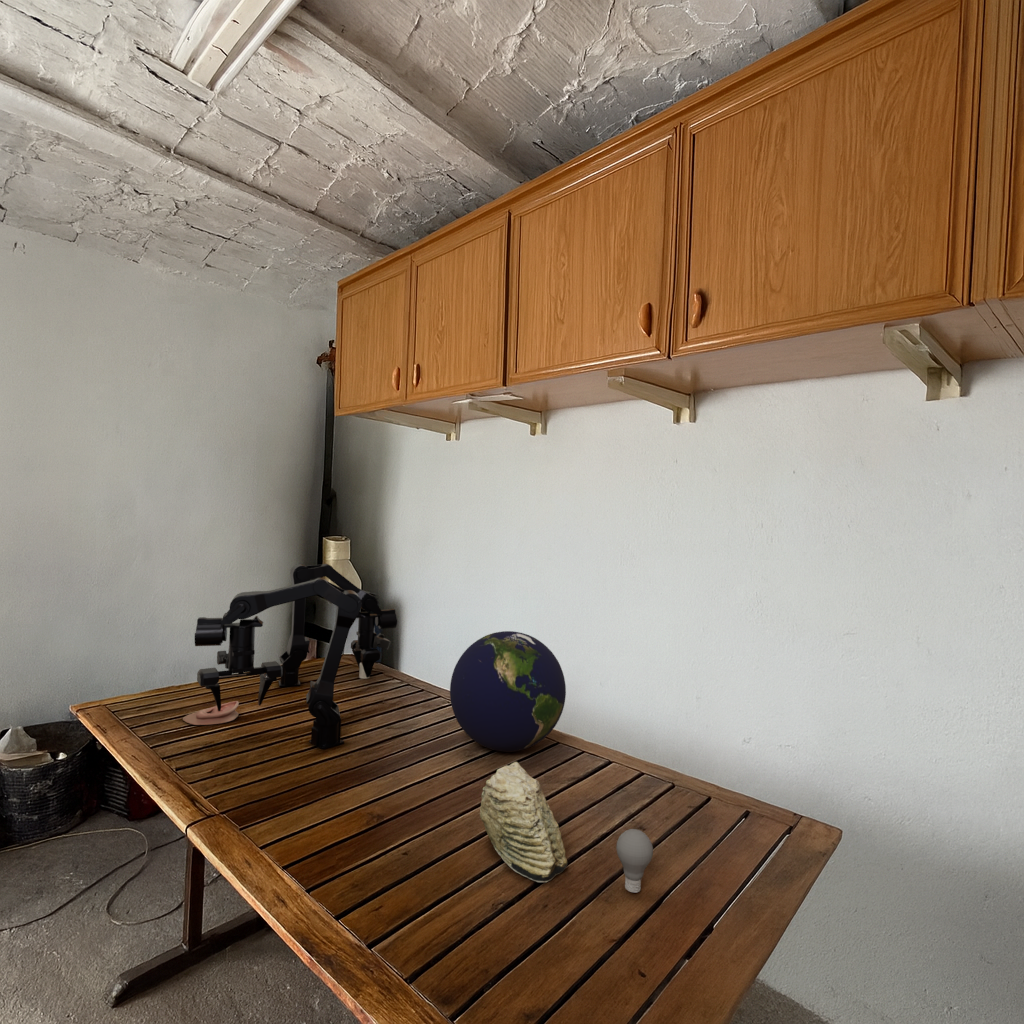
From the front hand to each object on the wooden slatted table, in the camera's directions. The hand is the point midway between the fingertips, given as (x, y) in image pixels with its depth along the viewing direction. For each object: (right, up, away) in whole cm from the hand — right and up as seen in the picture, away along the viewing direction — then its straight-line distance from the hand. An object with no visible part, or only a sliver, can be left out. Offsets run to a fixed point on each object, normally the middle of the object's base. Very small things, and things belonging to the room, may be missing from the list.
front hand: (239, 707), depth 155 cm
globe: (+65, -13, +9) cm, 67 cm away
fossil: (+68, -14, -41) cm, 81 cm away
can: (+15, -10, +67) cm, 69 cm away
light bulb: (+87, -15, -50) cm, 101 cm away
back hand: (+15, -9, +67) cm, 69 cm away
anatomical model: (-17, -9, +20) cm, 28 cm away
